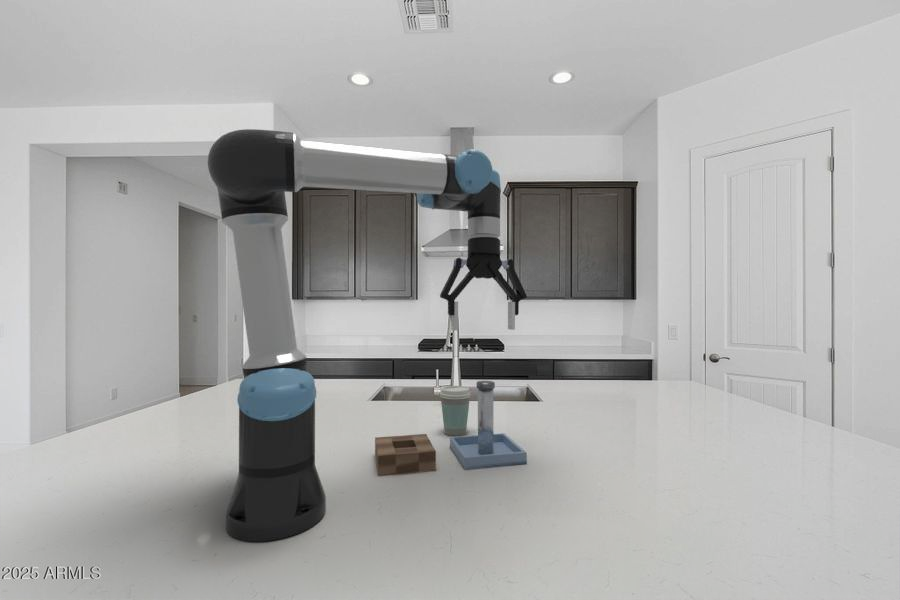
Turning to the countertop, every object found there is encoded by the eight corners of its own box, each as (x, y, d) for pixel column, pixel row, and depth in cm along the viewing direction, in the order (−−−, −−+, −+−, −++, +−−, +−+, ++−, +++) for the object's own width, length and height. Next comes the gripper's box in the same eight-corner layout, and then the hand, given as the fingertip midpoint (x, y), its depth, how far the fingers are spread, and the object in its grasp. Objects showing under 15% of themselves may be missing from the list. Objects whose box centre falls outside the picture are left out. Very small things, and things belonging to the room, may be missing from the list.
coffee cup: (471, 428, 118) (471, 385, 118) (470, 438, 109) (470, 392, 110) (441, 427, 119) (441, 385, 119) (437, 437, 110) (437, 391, 110)
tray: (526, 463, 92) (526, 452, 92) (464, 469, 89) (464, 457, 89) (504, 443, 106) (504, 433, 106) (449, 447, 103) (449, 437, 103)
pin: (497, 455, 96) (497, 383, 96) (479, 456, 95) (479, 384, 95) (491, 448, 100) (491, 380, 100) (474, 450, 99) (474, 381, 99)
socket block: (435, 470, 89) (435, 451, 89) (377, 475, 86) (378, 455, 86) (426, 450, 100) (426, 433, 100) (375, 454, 98) (375, 437, 98)
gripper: (527, 242, 104) (527, 328, 104) (428, 238, 99) (427, 329, 99) (540, 237, 97) (540, 330, 97) (433, 233, 91) (433, 331, 91)
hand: (483, 329), depth 98 cm, fingers open, 13 cm apart
